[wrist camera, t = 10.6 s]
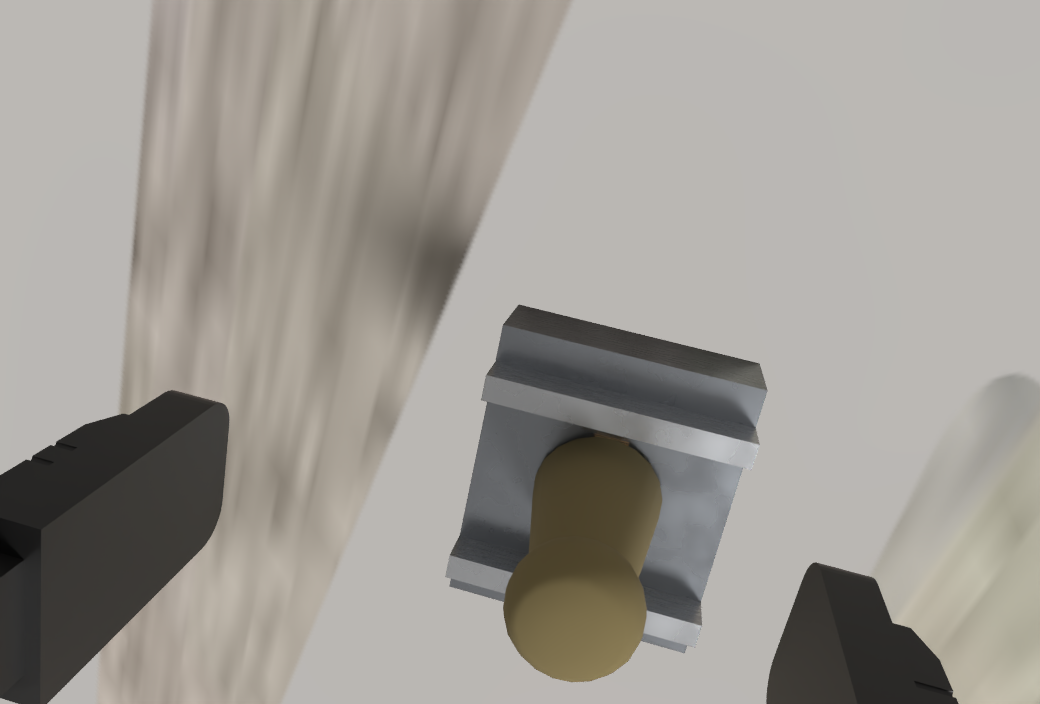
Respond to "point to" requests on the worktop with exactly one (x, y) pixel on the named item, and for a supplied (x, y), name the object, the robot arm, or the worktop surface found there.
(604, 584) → the cork
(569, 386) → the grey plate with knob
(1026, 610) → the worktop surface
